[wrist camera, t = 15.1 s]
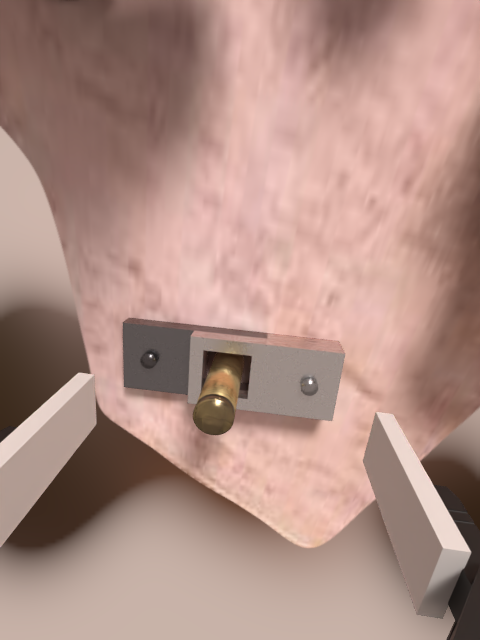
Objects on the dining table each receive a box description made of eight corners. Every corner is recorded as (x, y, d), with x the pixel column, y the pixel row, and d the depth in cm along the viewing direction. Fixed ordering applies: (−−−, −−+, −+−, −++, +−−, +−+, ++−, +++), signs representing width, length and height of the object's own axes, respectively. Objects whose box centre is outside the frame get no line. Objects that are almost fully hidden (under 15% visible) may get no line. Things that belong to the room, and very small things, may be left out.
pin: (207, 359, 47) (184, 413, 34) (230, 341, 46) (215, 391, 33) (227, 380, 47) (211, 442, 35) (250, 363, 46) (242, 421, 34)
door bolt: (129, 317, 46) (113, 330, 41) (338, 341, 44) (346, 356, 40) (129, 379, 49) (114, 397, 44) (327, 403, 47) (333, 424, 42)
